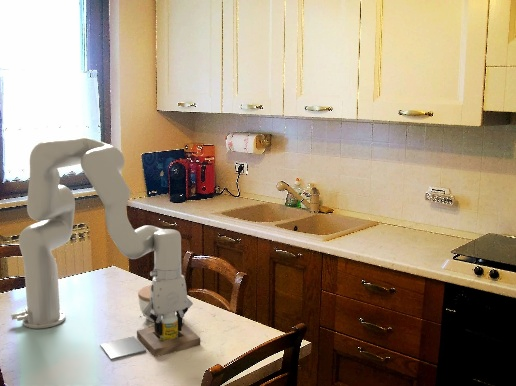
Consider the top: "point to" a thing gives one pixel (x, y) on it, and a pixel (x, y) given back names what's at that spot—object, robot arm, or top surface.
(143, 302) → the lidded bowl
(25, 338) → the top surface
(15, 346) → the top surface
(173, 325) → the supplement bottle
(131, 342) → the coaster
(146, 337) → the socket board
